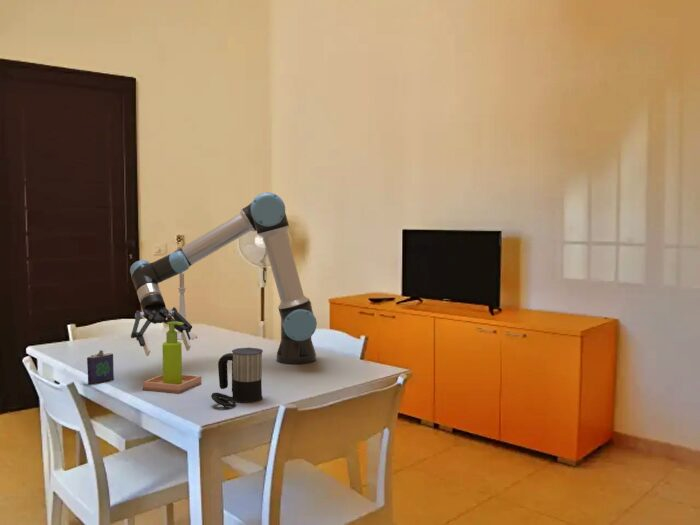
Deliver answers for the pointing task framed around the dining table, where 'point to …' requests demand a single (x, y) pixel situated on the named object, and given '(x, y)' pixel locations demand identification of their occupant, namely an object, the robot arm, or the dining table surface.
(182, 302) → the candlestick
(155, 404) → the dining table surface
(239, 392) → the milk frother
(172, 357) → the soap dispenser
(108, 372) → the flask
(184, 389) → the holder dish
